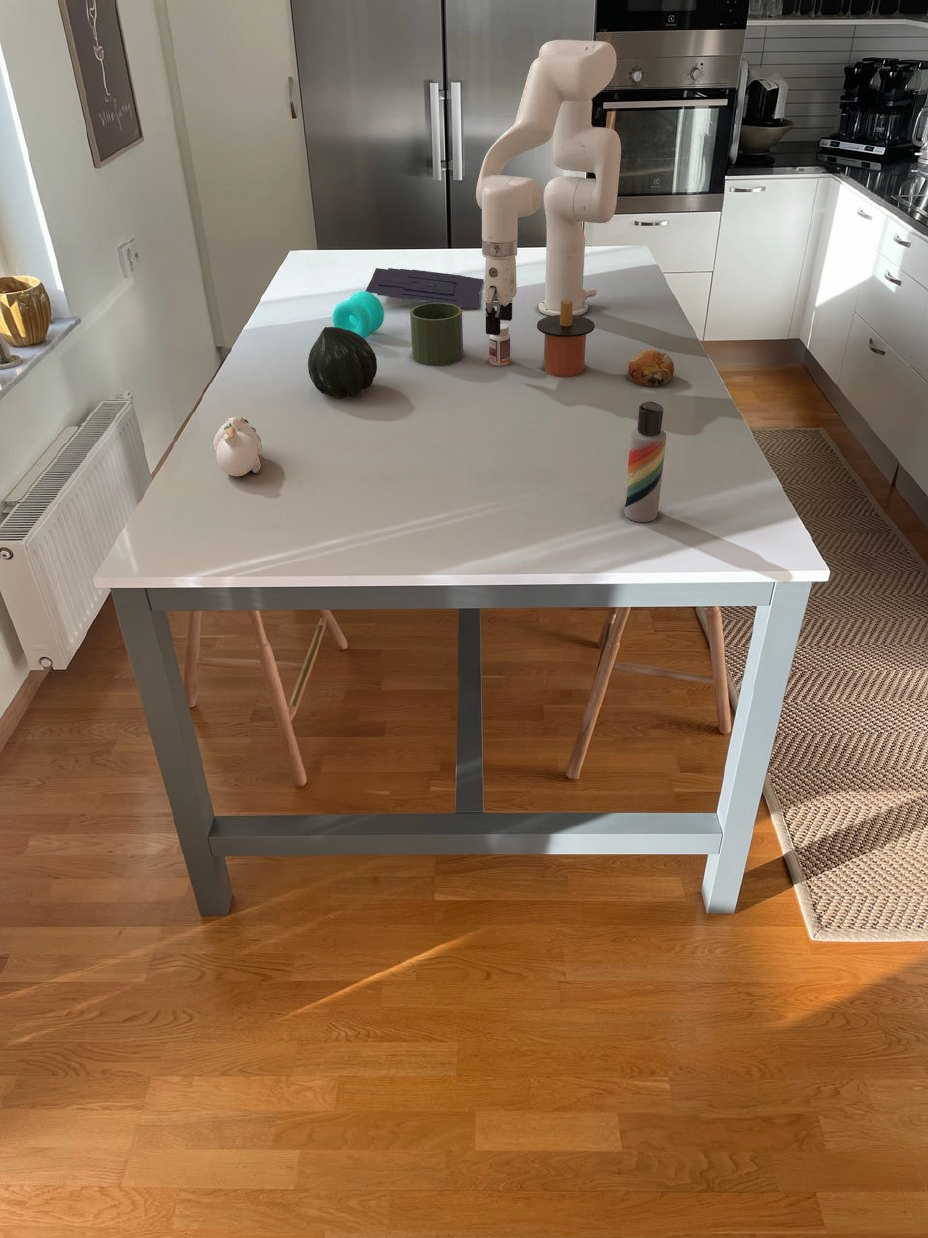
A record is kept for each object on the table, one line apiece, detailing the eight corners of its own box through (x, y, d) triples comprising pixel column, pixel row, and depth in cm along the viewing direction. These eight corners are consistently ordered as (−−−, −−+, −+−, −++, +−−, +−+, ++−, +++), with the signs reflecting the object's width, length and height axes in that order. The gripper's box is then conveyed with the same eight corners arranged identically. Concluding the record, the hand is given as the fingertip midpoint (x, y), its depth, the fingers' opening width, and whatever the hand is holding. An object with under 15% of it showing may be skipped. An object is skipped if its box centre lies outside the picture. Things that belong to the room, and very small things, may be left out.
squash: (400, 360, 206) (354, 303, 203) (366, 389, 196) (317, 330, 192) (362, 393, 216) (317, 339, 212) (327, 422, 206) (280, 366, 202)
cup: (566, 357, 220) (568, 319, 215) (592, 369, 214) (594, 330, 209) (535, 367, 216) (536, 328, 210) (561, 379, 210) (563, 339, 204)
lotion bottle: (620, 506, 165) (629, 398, 153) (653, 504, 166) (664, 396, 154) (627, 523, 161) (638, 413, 149) (661, 521, 161) (674, 411, 149)
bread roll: (673, 390, 213) (679, 353, 211) (668, 388, 203) (674, 349, 201) (629, 385, 215) (634, 349, 214) (622, 382, 206) (628, 344, 204)
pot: (444, 342, 229) (442, 299, 223) (472, 357, 221) (471, 312, 215) (403, 354, 224) (400, 309, 218) (431, 369, 216) (428, 323, 210)
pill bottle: (510, 358, 220) (511, 322, 215) (509, 366, 217) (509, 329, 212) (490, 357, 221) (490, 322, 216) (488, 365, 217) (488, 329, 212)
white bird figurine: (237, 437, 169) (233, 395, 179) (202, 462, 171) (199, 418, 181) (272, 472, 175) (265, 429, 186) (237, 496, 177) (233, 452, 188)
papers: (376, 275, 268) (377, 262, 265) (482, 288, 268) (484, 275, 266) (363, 304, 248) (363, 290, 246) (477, 318, 248) (479, 304, 246)
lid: (568, 315, 216) (570, 288, 213) (606, 330, 208) (608, 302, 204) (525, 327, 211) (525, 300, 207) (562, 344, 202) (563, 315, 199)
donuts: (332, 341, 231) (328, 300, 225) (351, 327, 239) (347, 287, 233) (369, 346, 228) (366, 304, 222) (387, 332, 236) (384, 291, 230)
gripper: (505, 259, 196) (504, 341, 206) (527, 238, 209) (525, 316, 219) (470, 257, 198) (471, 338, 208) (494, 235, 211) (493, 313, 221)
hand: (499, 326), depth 214 cm, fingers open, 9 cm apart
